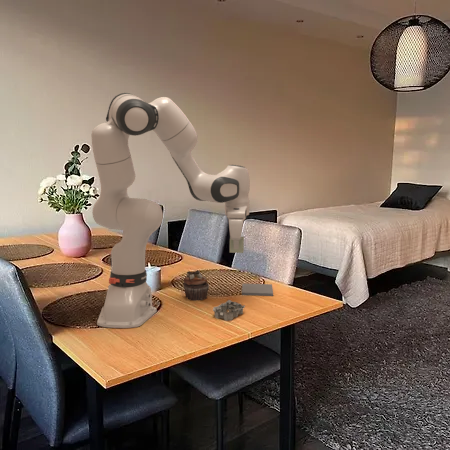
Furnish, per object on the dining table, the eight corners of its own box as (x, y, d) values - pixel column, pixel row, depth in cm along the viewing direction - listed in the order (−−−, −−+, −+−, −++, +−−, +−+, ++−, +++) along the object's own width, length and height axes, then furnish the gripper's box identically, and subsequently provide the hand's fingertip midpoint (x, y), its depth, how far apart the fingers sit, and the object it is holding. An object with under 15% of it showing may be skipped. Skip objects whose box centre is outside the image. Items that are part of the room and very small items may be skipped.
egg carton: (228, 323, 148) (229, 310, 148) (210, 317, 153) (210, 306, 152) (246, 313, 157) (247, 302, 156) (229, 308, 161) (229, 297, 160)
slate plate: (273, 296, 175) (273, 293, 175) (241, 295, 175) (241, 292, 175) (271, 286, 187) (271, 284, 186) (242, 285, 187) (242, 283, 187)
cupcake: (191, 303, 166) (191, 276, 164) (179, 295, 174) (179, 270, 172) (213, 298, 171) (214, 272, 169) (201, 291, 179) (201, 266, 177)
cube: (243, 252, 167) (243, 239, 166) (229, 252, 167) (229, 239, 166) (243, 249, 171) (243, 236, 171) (230, 249, 172) (230, 236, 171)
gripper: (230, 205, 177) (229, 240, 179) (226, 213, 157) (226, 253, 159) (246, 206, 176) (245, 241, 179) (245, 214, 156) (244, 253, 159)
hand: (236, 246), depth 169 cm, fingers closed on cube, 5 cm apart
